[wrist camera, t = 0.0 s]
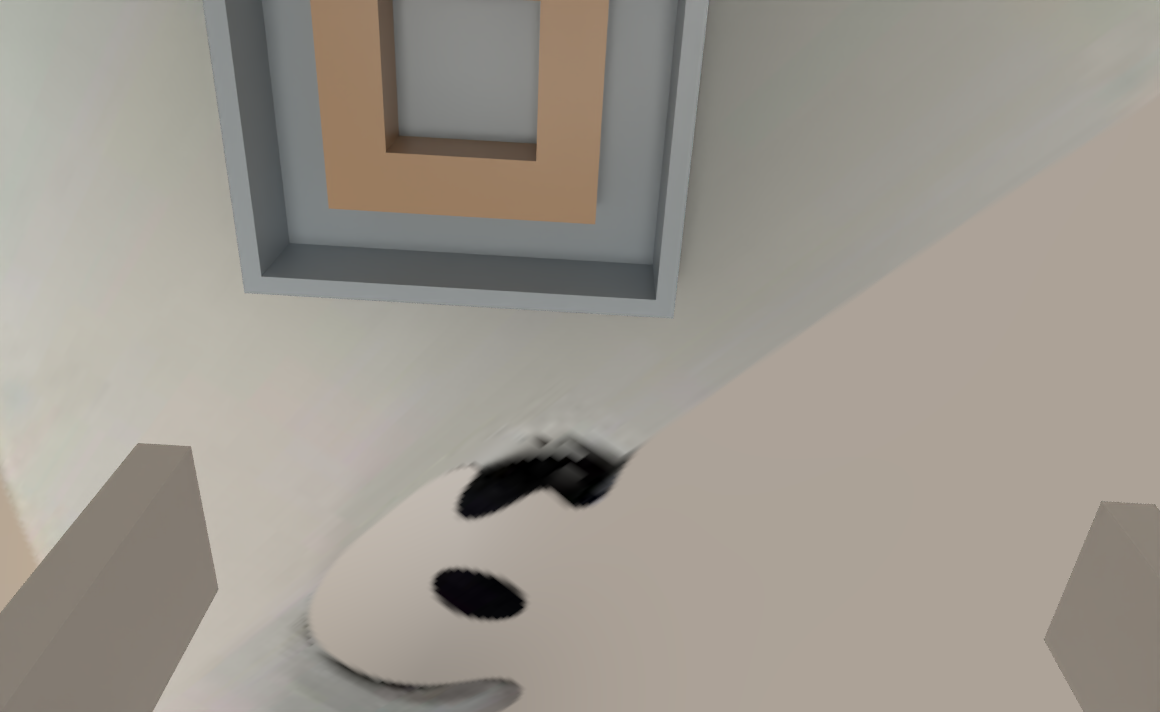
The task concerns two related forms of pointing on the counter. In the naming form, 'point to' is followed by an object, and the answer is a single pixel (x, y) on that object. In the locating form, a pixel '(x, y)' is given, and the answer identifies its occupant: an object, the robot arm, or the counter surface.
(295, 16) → the tray box
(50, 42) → the counter surface
